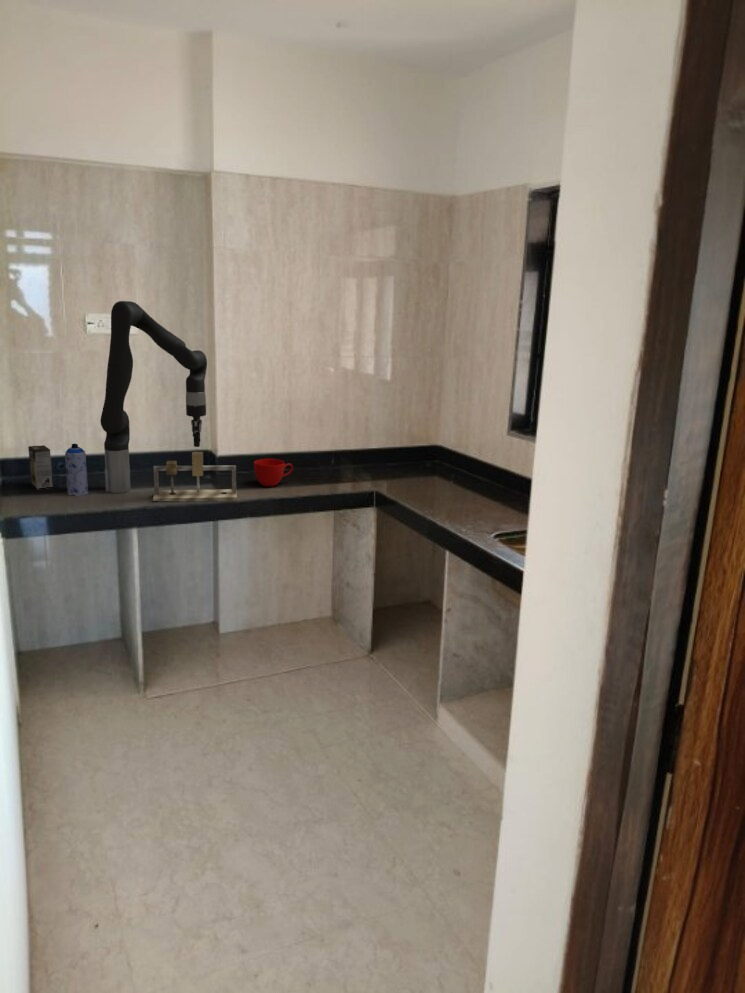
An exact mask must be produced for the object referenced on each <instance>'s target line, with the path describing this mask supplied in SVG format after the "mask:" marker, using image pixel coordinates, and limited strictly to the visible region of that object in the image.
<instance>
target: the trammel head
mask: <svg viewBox="0 0 745 993" xmlns="http://www.w3.org/2000/svg"><path fill="white" fill-rule="evenodd" d="M191 464H192V465H191V466H192V471H191V472H192V473H191V474H192V477H196V490H197V492H200V490H201V489H200V488H201V487H200V477H203V476H204V471H203V466H204V451H192V453H191Z"/></svg>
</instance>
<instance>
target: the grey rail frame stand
mask: <svg viewBox="0 0 745 993" xmlns="http://www.w3.org/2000/svg"><path fill="white" fill-rule="evenodd" d="M177 462H178V461H177V460H167V461H166V465H153V485H154V487H153V488H154V494H153V498H152V502H153V501H171V503H175V502H176V503H179V502H180V501H181V503H184V502H191V503H193V502H237V501H238V495H237V494H238V492H237V465H229V464H228V465H203V472H204V471H231V488H229V489H228V488H227V489H224V488H223V489H200V492H197V489H174V488H175V486H174V485H175V484H174V476H177V473H178V471H179V472H180V471H183V472H184V471H185V472H187V471H188V472H189V471H191V472H192V465H178V464H177ZM163 471H164V472H166V476H168V475H169V476H170V489H162V490H161V489H160V485H159V484H160V483H159V482H160V480H159V478H160V477H159V472H163ZM172 501H173V502H172ZM177 501H179V502H177ZM182 501H183V502H182Z"/></svg>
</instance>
